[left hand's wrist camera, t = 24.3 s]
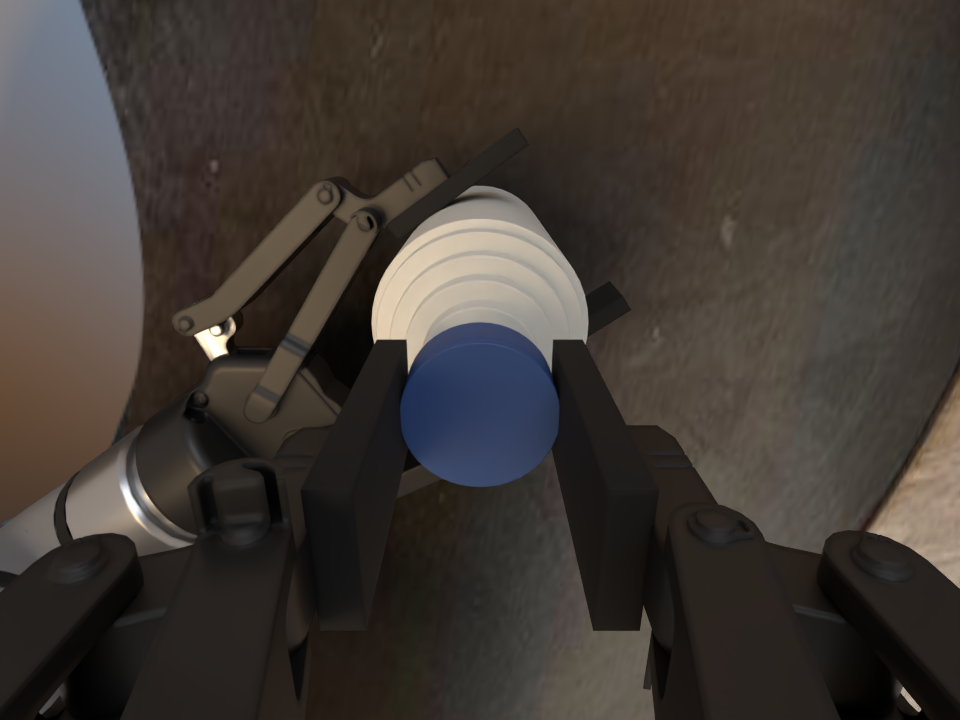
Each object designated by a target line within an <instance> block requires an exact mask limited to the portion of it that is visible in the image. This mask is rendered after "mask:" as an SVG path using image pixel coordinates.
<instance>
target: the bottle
mask: <svg viewBox="0 0 960 720" xmlns="http://www.w3.org/2000/svg"><path fill="white" fill-rule="evenodd" d="M475 322H485V323H494V324H499V325H502V326H505V327H508V328H511V329H513V330H515V331H517V332H519V333H521V334H522V335H524V336H525V337H527V338H528V339H529V340H530V341H531V342H533V343H534V344H535V345H536V347H537V348H538V349H539V350H540V351H541V353H542V354H543V356H544V357H545V359H546V361H547V363H548V365H549V368H550V371H551V369H552V349H553V339H583V341H584V343H585V345H586V340H587V335H588V308H587V303H586V299H585V294H584V291H583V289H582V286H581V283H580V281H579V279H578V277H577V275H576V273H575V271H574V269H573V268H572V267H571V265H570V264H569V262H568V261H567V259H566V258H565V257H564V255H563V254H562V252H561V251H560V250H559V248H558V247H557V245H556V244H555V243H554V241H553V240H552V238H551V237H550V236H549V234H548V233H547V231H546V230H545V229H544V227H543V226H542V224H541V223H540V221H539V220H538V219H537V217H536V216H535V214H534V213H533V212H532V210H531V209H530V208H529V207H528V206H527V205H526V204H525V203H524V202H523V201H522V200H520V199H519V198H518V197H516V196H514V195H513V194H511V193H509V192H507V191H504V190H502V189H498V188H495V187H489V186H472V187H470V188H469V189H468V190H466V191H465V192H463V193H462V194H461V195H459V196H458V197H457V198H455V199H454V200H452V201H451V202H450V203H448V204H447V205H446V206H444V207H443V208H442V209H440V210H439V211H437V212H436V213H435V214H433V215H432V216H430V217H429V218H428V219H426V220H425V221H424V222H422V223H421V224H420V225H418V226H417V227H416V229H415V230H414V231H413V233H412V234H411V236H410V237H409V238H408V240H407V241H406V243H405V244H404V245H403V247H402V248H401V250H400V251H399V253H398V254H397V255H396V257H395V258H394V260H393V261H392V262H391V264H390V265H389V267H388V268H387V269H386V271H385V273H384V275H383V277H382V279H381V281H380V283H379V286H378V289H377V291H376V294H375V299H374V303H373V308H372V335H373V340H374V344H375V342H376V340H377V339H407V357H408V374H409V371H410V367H411V365H412V363H413V361H414V359H415V357H416V356H417V354H418V353H419V351H420V350H421V349H422V348H423V346H424V345H425V344H426V343H427V342H428V341H430V340H431V339H432V338H433V337H435V336H436V335H438V334H439V333H441V332H443V331H445V330H447V329H449V328H451V327H454V326H458V325H461V324H466V323H475Z"/></svg>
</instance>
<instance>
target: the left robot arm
mask: <svg viewBox="0 0 960 720" xmlns="http://www.w3.org/2000/svg"><path fill="white" fill-rule="evenodd" d="M551 374H552V377H553V381H554V384H555V387H556V390H557V394H558V397H559V401H560V409H559V427H558V435H557V438H556V440H555V442H554V445H553V447H552V453H553V457H554V461H555V466H556V470H557V474H558V479H559V483H560V487H561V492H562V496H563V500H564V505H565V509H566V513H567V518H568V522H569V526H570V531H571V535H572V540H573V544H574V548H575V553H576V557H577V561H578V566H579V570H580V574H581V579H582V583H583V587H584V592H585V596H586V600H587V605H588V609H589V614H590V618H591V622H592V627H593V631H640V625H641V618H642V611H643V605H644V608H645V610H646V613H647V616H648V619H649V622H650V625H651V628H652V633H651V639H650V646H649V652H648V659H647V666H646V672H645V679H644V686H643V689H649V690H650V689H651V684H652V693H653V702H654V712H655V720H960V589H959V588H958V587H957V586H956V585H955V584H954V583H953V582H951V581H950V580H949V579H948V578H947V577H946V576H945V575H943V574H942V573H941V572H940V571H939V570H938V569H937V568H936V567H934V566H933V565H932V564H931V563H930V562H929V561H928V560H926V559H925V558H923V557H922V556H921V555H919V554H918V553H916V552H915V551H914V550H912V549H911V548H909V547H907V546H905V545H903V544H901V543H898V542H896V541H894V540H892V539H890V538H888V537H885V536H882V535H877V534H874V533H869V532H862V531H851V530H847V531H842V532H837V533H833V534H832V535H831V536H830V537H829V538H828V539H826V541H825V544H824V548H823V551H822V554H817V553H813V552H808V551H803V550H798V549H793V548H789V547H784V546H780V545H776V544H773V543H769V542H766V541H765V539H764V537H763V534H762V533H761V532H760V530H759V529H758V527H757V526H756V525H755V523H754V522H752V521H751V520H750V519H748V518H747V517H745V516H744V515H743V514H741V513H739V512H737V511H735V510H732V509H730V508H728V507H725V506H722V505H718V503H717V502H716V500H715V499H714V497H713V496H712V494H711V492H710V491H709V489H708V488H707V486H706V485H705V483H704V482H703V480H702V479H701V477H700V476H699V474H698V472H697V471H696V469H695V468H694V467H692V463H691V462H690V460H689V459H688V457H687V456H686V455H685V454H684V451H683V449H682V448H681V446H680V445H679V443H678V442H677V440H676V439H675V438H674V437H673V436H672V435H670V434H669V433H667V432H666V431H664V430H663V429H661V428H660V427H658V426H657V425H626V424H625V422H624V420H623V418H622V416H621V414H620V412H619V410H618V408H617V406H616V404H615V402H614V400H613V398H612V396H611V394H610V392H609V390H608V388H607V386H606V384H605V382H604V380H603V378H602V376H601V374H600V372H599V370H598V369H597V367H596V365H595V363H594V361H593V359H592V357H591V355H590V353H589V351H588V349H587V347H586V345H585V343H584V341H583V339H553V349H552V369H551ZM407 377H408V357H407V339H377V340H376V342H375V344H374V346H373V348H372V350H371V352H370V354H369V356H368V358H367V360H366V362H365V364H364V366H363V368H362V370H361V372H360V374H359V376H358V378H357V380H356V381H355V383H354V385H353V387H352V389H351V391H350V393H349V395H348V397H347V399H346V401H345V403H344V405H343V407H342V409H341V411H340V413H339V415H338V417H337V419H336V421H335V423H334V425H333V427H302V428H301V429H300V430H298V431H297V432H295V433H294V434H292V435H291V436H289V437H288V438H287V439H285V440H284V442H283V443H282V445H281V446H280V448H279V450H278V451H277V453H276V454H275V457H273V459H272V460H269V459H266V458H241V459H236V460H230V461H226V462H223V463H221V464H218V465H215V466H213V467H210V468H208V469H207V470H205V471H204V472H202V473H200V474H199V475H197V476H196V477H195V478H194V479H193V480H192V481H191V483H190V484H189V485H188V486H187V490H188V494H189V499H190V503H191V507H192V512H193V516H194V520H195V525H196V529H197V534H198V535H197V538H196V540H195V543H194V544H192V545H189V546H185V547H181V548H178V549H173V550H168V551H164V552H159V553H154V554H149V555H145V556H140V557H138V553H137V550H136V546H135V543H134V542H133V541H132V540H131V539H130V538H129V537H127V536H126V535H121V534H116V533H104V534H93V535H89V536H84V537H82V538H81V537H80V538H77V539H74V540H71V541H69V542H67V543H65V544H63V545H61V546H59V547H57V548H55V549H53V550H51V551H49V552H48V553H46V554H45V555H44V556H42V557H41V558H39V559H38V560H36V561H35V562H34V563H32V564H31V565H30V566H29V567H28V568H27V569H26V570H25V571H23V572H22V573H21V574H20V575H19V576H18V577H17V578H16V579H14V580H13V581H12V582H11V583H10V584H9V585H8V586H7V587H5V588H4V589H3V590H2V591H1V592H0V720H305V713H306V704H307V694H308V684H309V675H310V665H311V655H312V653H311V646H310V639H309V633H308V629H309V626H310V624H311V621H312V618H313V615H314V612H315V609H316V606H317V613H318V620H319V628H320V631H366V629H367V625H368V621H369V616H370V612H371V608H372V603H373V599H374V594H375V590H376V586H377V581H378V577H379V573H380V568H381V564H382V560H383V555H384V551H385V547H386V542H387V538H388V534H389V529H390V525H391V521H392V516H393V512H394V507H395V503H396V499H397V494H398V490H399V486H400V481H401V477H402V473H403V468H404V464H405V460H406V455H407V451H408V447H407V445H406V443H405V440H404V438H403V436H402V431H401V416H400V401H401V397H402V393H403V390H404V387H405V383H406V380H407ZM902 687H904V688H905V689H906V691H907V692H908V693H909V694H910V696H911V697H912V698H913V699H914V700H915V702H916V703H917V704H918V705H919V706H920V708H921V711H920V712H918V711H916V710H915V709H914V708H913V707H912V706H911V705H910V704H909V703H908V701H907V700H906V699H905V698H904V697H903V695H902V694H901V693H900V692H901V690H902ZM57 689H58V691H59V694H60V696H59V697H58V698H57V699H56V700H55V702H54V703H53V704H52V705H51V706H50V707H49V708H48V709H47V710H46V711H45V712H44V713H43V714H42V715H41V714H40V713H39V711H40V710H41V709H42V708H43V706H44V705H45V704H46V703H47V702H48V700H49V699H50V698H51V697H52V695H53V694H54V693H55V692H56V691H57Z"/></svg>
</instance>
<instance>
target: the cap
mask: <svg viewBox="0 0 960 720" xmlns="http://www.w3.org/2000/svg"><path fill="white" fill-rule="evenodd" d="M559 409H560V401H559V397H558V394H557V390H556V387H555V384H554V381H553V377H552V374H551V371H550V368H549V365H548V363H547V361H546V359H545V357H544V356H543V354H542V353H541V351H540V350H539V349H538V348H537V347H536V345H535V344H534V343H533V342H531V341H530V340H529V339H528V338H527V337H525V336H524V335H522V334H521V333H519V332H517V331H515V330H513V329H511V328H508V327H505V326H502V325H499V324H494V323H485V322H475V323H466V324H461V325H458V326H454V327H451V328H449V329H447V330H445V331H443V332H441V333H439V334H438V335H436V336H435V337H433V338H432V339H431V340H430V341H428V342H427V343H426V344H425V345H424V346H423V348H422V349H421V350H420V351H419V353H418V354H417V356H416V357H415V359H414V361H413V363H412V365H411V367H410V371H409V374H408V377H407V380H406V383H405V387H404V390H403V393H402V397H401V401H400V416H401V431H402V436H403V438H404V440H405V443H406V445H407V447H408V448H409V450H410V452H411V453H412V454H413V456H414V457H415V458H416V459H417V461H418V462H419V463H420V464H422V465H423V466H424V467H425V468H426V469H427V470H429V471H430V472H431V473H433V474H435V475H436V476H438V477H440V478H442V479H444V480H447V481H449V482H452V483H456V484H459V485H464V486H471V487H490V486H496V485H501V484H504V483H508V482H511V481H513V480H516V479H518V478H520V477H522V476H523V475H525V474H527V473H528V472H530V471H531V470H533V469H534V468H535V467H536V466H537V465H538V464H539V463H541V462H542V460H543V459H544V458H545V457H546V456H547V454H548V453H549V451H550V450H551V448H552V447H553V445H554V442H555V440H556V438H557V435H558V427H559Z"/></svg>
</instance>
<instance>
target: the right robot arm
mask: <svg viewBox="0 0 960 720" xmlns="http://www.w3.org/2000/svg"><path fill="white" fill-rule="evenodd" d="M528 145H529V144H528V143H527V141H526V139H525V138H524V136H523V135H522V133H521V131H520V130H519V128H515V129H513V130H512V131H511V132H509V133H508V134H507V135H505V136H504V137H502V138H501V139H500V140H498V141H497V142H496V143H494V144H493V145H492V146H490V147H489V148H488V149H486V150H485V151H484V152H482V153H481V154H480V155H478V156H477V157H476V158H474V159H473V160H471V161H470V162H469V163H467V164H466V165H465V166H463V167H462V168H461V169H459V170H458V171H457V172H455V173H454V174H453V175H451V176H449V174H448V173H447V171H446V170H445V168H444V167H443V165H442V164H441V162H440V161H439V159H438V158H433V159H429V160H425V161H422V162H421V163H420V164H418V165H417V166H416V167H414V168H413V169H412V170H410V171H409V172H408V173H406V174H405V175H404V176H402V177H401V178H400V179H398V180H397V181H396V182H395V183H393V184H392V185H391V186H389V187H388V188H387V189H385V190H384V191H383V192H381V193H380V194H379V195H376V196H369V195H365V194H364V193H362V192H360V191H359V190H357V189H356V188H354V187H353V186H352V185H351V184H350V183H349V181H348V180H346V179H345V178H343V177H339V176H338V177H333V178H328V179H325V180H321V181H318V182H317V183H315V184H314V185H313V186H312V187H311V188H310V189H309V191H308V192H307V193H306V194H305V195H304V196H303V197H302V198H301V199H300V200H299V201H298V202H297V204H296V205H295V206H294V207H293V208H292V209H291V210H290V211H289V212H288V213H287V214H286V216H285V217H284V218H283V219H282V220H281V221H280V222H279V223H278V224H277V225H276V226H275V228H274V229H273V230H272V231H271V232H270V233H269V234H268V235H267V236H266V237H265V238H264V239H263V241H262V242H261V243H260V244H259V245H258V246H257V247H256V248H255V249H254V250H253V251H252V253H251V254H250V255H249V256H248V257H247V258H246V259H245V260H244V261H243V262H242V263H241V265H240V266H239V267H238V268H237V269H236V270H235V271H234V272H233V273H232V274H231V275H230V276H229V278H228V279H227V280H226V281H225V282H224V283H223V284H222V285H221V286H220V287H219V288H218V290H217V291H216V292H214V293H211V294H209V295H207V296H205V297H203V298H201V299H199V300H197V301H196V302H194V303H192V304H190V305H189V306H187V307H185V308H184V309H182V310H180V311H178V312H177V313H176V314H174V316H173V318H172V324H173V326H174V328H175V330H176V331H177V332H178V333H180V334H182V335H184V336H193V335H194V336H195V337H196V339H197V340H198V342H199V343H200V345H201V347H202V348H203V350H204V351H205V353H206V354H207V356H208V357H209V359H210V360H211V362H210V363H209V364H208V366H207V368H206V372H205V375H204V377H203V379H202V380H201V381H200V382H199V383H197V384H196V385H195V386H193V387H192V388H190V389H189V390H188V391H186V392H185V393H184V394H182V395H181V396H180V397H178V398H177V399H175V400H174V401H173V402H171V403H170V404H169V405H167V406H166V407H165V408H163V409H162V410H160V411H159V412H158V413H156V414H155V415H154V416H152V417H151V418H150V419H149V420H148V421H147V422H146V423H145V424H144V425H141V426H139V427H137V428H136V429H135V430H133V431H132V432H131V433H129V434H128V435H126V436H125V437H124V438H122V439H121V440H120V441H118V442H117V443H115V444H114V445H113V446H111V447H110V448H109V449H107V450H106V451H105V452H103V453H102V454H100V455H99V456H98V457H96V458H95V459H94V460H92V461H91V462H89V463H88V464H87V465H85V466H84V467H83V468H82V469H81V470H80V471H79V472H77V473H76V474H75V475H74V476H72V477H71V478H70V479H69V480H68V481H66V482H65V483H63V484H62V485H60V486H59V487H57V488H56V489H55V490H53V491H52V492H50V493H49V494H47V495H46V496H44V497H43V498H41V499H40V500H39V501H37V502H36V503H34V504H33V505H31V506H30V507H28V508H27V509H25V510H24V511H23V512H21V513H20V514H19V515H17V516H16V517H15V518H13V519H12V520H8V521H6V522H5V523H3V524H1V525H0V592H1V591H2V590H3V589H4V588H5V587H7V586H8V585H9V584H10V583H11V582H12V581H13V580H14V579H16V578H17V577H18V576H19V575H20V574H21V573H22V572H23V571H25V570H26V569H27V568H28V567H29V566H30V565H31V564H32V563H34V562H35V561H36V560H38V559H39V558H41V557H42V556H44V555H45V554H46V553H48V552H49V551H51V550H53V549H55V548H57V547H59V546H61V545H63V544H65V543H67V542H69V541H71V540H74V539H77V538H80V537H81V538H82V537H84V536H89V535H93V534H104V533H116V534H121V535H126V536H127V537H129V538H130V539H131V540H132V541H133V542H134V543H135V546H136V550H137V553H138V557H140V556H145V555H149V554H154V553H159V552H164V551H168V550H173V549H178V548H181V547H185V546H189V545H192V544H194V543H195V540H196V538H197V535H198V534H197V529H196V525H195V520H194V516H193V512H192V507H191V503H190V499H189V494H188V490H187V486H188V485H189V484H190V483H191V481H192V480H193V479H194V478H195V477H196V476H197V475H199V474H200V473H202V472H204V471H205V470H207V469H208V468H210V467H213V466H215V465H218V464H221V463H223V462H226V461H230V460H236V459H241V458H266V459H269V460H272V459H273V457H275V454H276V453H277V451H278V450H279V448H280V446H281V445H282V443H283V442H284V440H285V439H287V438H288V437H289V436H291V435H292V434H294V433H295V432H297V431H298V430H300V429H301V428H302V427H333V425H334V423H335V421H336V419H337V417H338V415H339V413H340V411H341V409H342V407H343V405H344V403H345V401H346V399H347V397H348V395H349V393H350V391H351V390H350V389H349V388H348V387H347V386H346V385H344V384H343V383H341V382H340V381H339V380H337V379H336V378H335V377H334V376H333V374H332V372H331V370H330V368H329V366H328V364H327V362H326V361H325V360H324V359H323V358H322V357H321V355H320V354H319V353H318V352H316V353H315V354H313V351H314V349H315V348H316V346H317V344H318V343H319V341H320V339H321V337H322V336H323V334H324V332H325V329H326V328H327V326H328V324H329V322H330V321H331V319H332V317H333V316H334V314H335V312H336V310H337V309H338V307H339V305H340V304H341V302H342V300H343V298H344V297H345V295H346V293H347V291H348V290H349V288H350V286H351V285H352V283H353V281H354V279H355V278H356V276H357V274H358V273H359V271H360V269H361V267H362V266H363V264H364V262H365V261H366V259H367V257H368V255H369V254H370V252H371V250H372V248H373V247H374V245H375V243H376V242H377V240H378V238H379V236H380V235H381V233H382V231H383V230H384V228H385V227H386V226H387V227H388V229H389V230H390V231H391V233H392V234H393V235H394V237H395V238H396V239H397V241H398V240H399V239H400V238H402V237H403V236H405V235H406V234H407V233H409V232H410V231H411V230H413V229H414V228H415V227H417V226H418V225H420V224H421V223H422V222H424V221H425V220H426V219H428V218H429V217H430V216H432V215H433V214H435V213H436V212H437V211H439V210H440V209H442V208H443V207H444V206H446V205H447V204H448V203H450V202H451V201H452V200H454V199H455V198H457V197H458V196H459V195H461V194H462V193H463V192H465V191H466V190H468V189H469V188H470V187H472V186H473V185H474V184H476V183H477V182H478V181H480V180H481V179H483V178H484V177H485V176H487V175H488V174H489V173H491V172H492V171H494V170H495V169H496V168H498V167H499V166H500V165H502V164H503V163H504V162H506V161H507V160H509V159H510V158H511V157H513V156H514V155H515V154H517V153H518V152H520V151H521V150H522V149H524V148H525V147H526V146H528ZM334 216H336V217H337V218H339V219H340V220H342V221H343V222H345V223H346V224H348V225H347V226H346V228H345V230H344V232H343V234H342V235H341V237H340V239H339V241H338V243H337V244H336V246H335V248H334V250H333V252H332V253H331V255H330V257H329V259H328V261H327V262H326V264H325V266H324V268H323V270H322V271H321V273H320V275H319V277H318V279H317V280H316V282H315V284H314V286H313V288H312V289H311V291H310V293H309V295H308V297H307V298H306V300H305V302H304V304H303V306H302V307H301V309H300V311H299V313H298V315H297V316H296V318H295V320H294V322H293V324H292V325H291V327H290V329H289V331H288V332H287V334H286V336H285V337H284V338H283V340H282V341H281V343H280V344H279V346H278V347H247V346H236V345H235V343H234V336H235V334H236V332H237V331H238V330H240V329H241V328H242V326H243V315H242V313H241V312H240V310H241V309H243V308H244V307H245V306H247V305H248V304H249V303H251V302H252V301H254V300H255V299H256V298H257V297H258V296H259V295H260V294H261V293H262V292H263V291H264V290H265V289H266V288H267V287H268V286H269V285H270V283H271V282H272V281H273V280H274V279H275V278H276V277H277V276H278V275H279V274H280V273H281V272H282V271H283V270H284V269H285V268H286V267H287V266H288V265H289V263H290V262H291V261H292V260H293V259H294V258H295V257H296V256H297V255H298V254H299V253H300V252H301V251H302V250H303V249H304V248H305V247H306V246H307V245H308V243H309V242H310V241H311V240H312V239H313V238H314V237H315V236H316V235H317V234H318V233H319V232H320V231H321V230H322V229H323V228H324V227H325V226H326V225H327V224H328V222H329V221H330V220H331V219H332V218H333V217H334ZM585 299H586V303H587V308H588V335H587V337H588V336H590V335H592V334H593V333H595V332H596V331H598V330H600V329H601V328H603V327H604V326H606V325H608V324H609V323H611V322H612V321H614V320H616V319H617V318H619V317H620V316H622V315H624V314H625V313H627V312H628V311H630V310H631V309H630V307H629V305H628V304H627V302H626V301H625V299H624V297H623V296H622V295H621V294H620V292H619V291H618V290H617V289H616V288H615V287H614V286H613V285H612V284H611V283H610V281H609V282H607V283H605V284H604V285H602V286H601V287H599V288H598V289H596V290H595V291H593V292H592V293H590V294H588V295H587V296H585ZM440 480H442V478H440V477H438V476H436V475H435V474H433V473H431V472H430V471H429V470H427V469H426V468H425V467H424V466H423V465H422V464H420V463H419V462H418V461H417V459H416V458H415V457H414V456H413V454H412V453H411V452H410V450H409V448H408V451H407V455H406V460H405V464H404V468H403V473H402V477H401V481H400V486H399V490H398V494H397V499H398V498H400V497H403V496H405V495H407V494H409V493H412V492H414V491H416V490H419V489H421V488H423V487H426V486H428V485H430V484H433V483H435V482H437V481H440ZM59 696H60V694H59V691H58V689H57V691H56V692H55V693H54V694H53V695H52V697H51V698H50V699H49V700H48V702H47V703H46V704H45V705H44V706H43V708H42V709H41V710H40V711H39V713H40V714H41V715H42V714H43V713H44V712H45V711H46V710H47V709H48V708H49V707H50V706H51V705H52V704H53V703H54V702H55V700H56V699H57V698H58V697H59Z"/></svg>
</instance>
